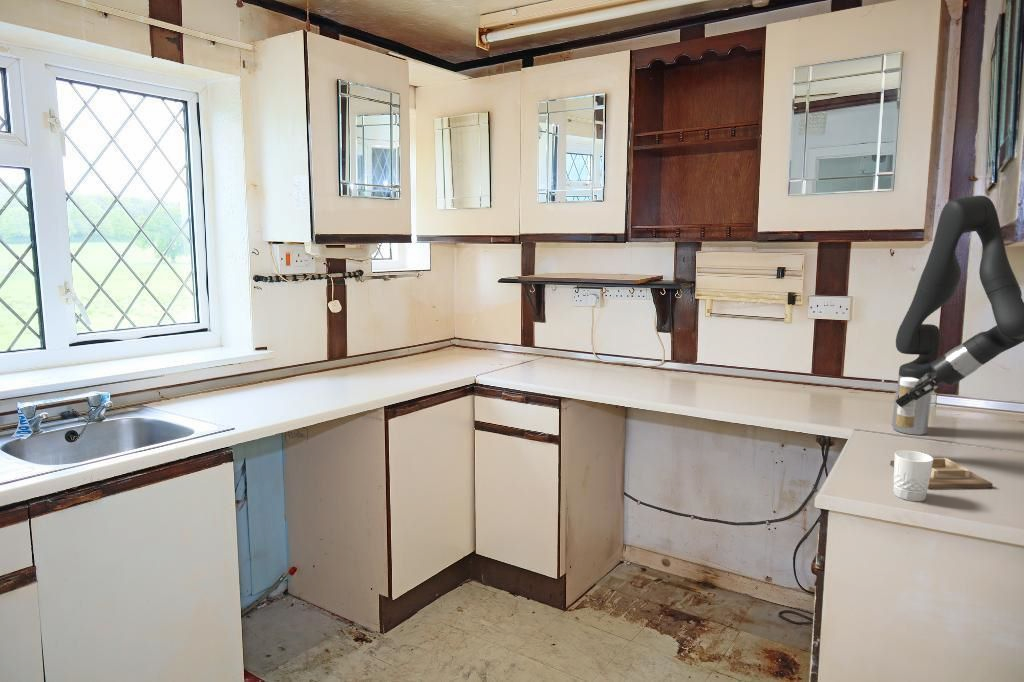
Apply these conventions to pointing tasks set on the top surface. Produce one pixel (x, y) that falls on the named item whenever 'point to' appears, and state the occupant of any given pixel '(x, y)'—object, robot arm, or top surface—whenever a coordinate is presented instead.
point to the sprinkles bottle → (907, 411)
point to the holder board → (953, 476)
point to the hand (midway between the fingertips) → (899, 401)
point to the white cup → (911, 475)
